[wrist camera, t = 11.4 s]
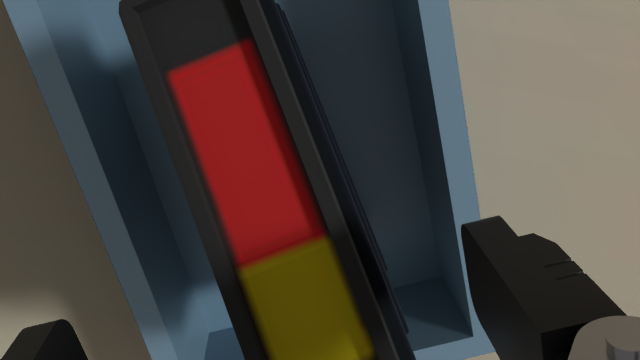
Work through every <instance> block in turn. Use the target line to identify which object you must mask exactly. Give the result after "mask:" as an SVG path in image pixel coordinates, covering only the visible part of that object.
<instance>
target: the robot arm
mask: <svg viewBox="0 0 640 360" xmlns="http://www.w3.org/2000/svg"><path fill="white" fill-rule="evenodd" d="M461 238H462V245H463V251H464V257H465V264H466V270H467V276H468V283H469V289H470V294H471V299H472V303H473V306H474V309H475V312H476V315H477V317H478V320H479V322H480V324H481V326H482V327H483V329H484V331H485V333H486V335H487V336H488V338H489V340H490V342H491V344H492V345H493V347H494V349H495V351H496V353H497V354H498V356H499V358H500V360H640V317H634V316H627V315H626V314H625V313H624V312H623V311H622V310H621V309H620V308H619V307H618V306H617V305H616V304H615V303H614V302H613V301H612V300H611V299H610V298H609V297H608V296H607V295H606V294H605V293H604V292H603V291H602V290H601V289H600V288H599V286H598V285H597V284H596V283H595V282H594V281H593V280H592V279H591V278H590V277H589V276H588V275H587V274H584V273H583V270H582V269H581V268H580V267H579V266H578V265H577V264H576V263H575V262H574V261H571V258H570V257H569V256H568V255H567V254H566V253H565V252H564V251H563V250H562V249H561V248H560V247H559V246H558V245H557V244H556V243H554V242H552V241H550V240H548V239H545V238H543V237H541V236H538V235H536V234H534V233H532V234H528V235H524V236H520V237H518V236H517V235H516V234H515V232H514V231H513V230H512V229H511V228H510V227H509V225H508V224H507V223H506V222H505V221H504V220H503V219H502V218H501V217H500V216H494V217H490V218H486V219H482V220H478V221H474V222H469V223H465V224H462V225H461ZM0 360H88V358H87V356H86V354H85V352H84V350H83V348H82V346H81V343H80V341H79V339H78V337H77V335H76V333H75V331H74V329H73V327H72V326H71V324H70V323H69V322H68V321H66V320H64V319H60V320H56V321H52V322H48V323H44V324H39V325H35V326H31V327H27V328H24V329H23V330H22V331H21V332H20V333H19V334H18V336H17V337H16V339H15V340H14V342H13V343H12V344H11V346H10V347H9V349H8V350H7V352H6V353H5V355H4V356H3V357H2V359H0Z"/></svg>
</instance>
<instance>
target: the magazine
mask: <svg viewBox="0 0 640 360" xmlns="http://www.w3.org/2000/svg"><path fill="white" fill-rule="evenodd" d="M119 16H120V19H121V22H122V24H123V27H124V30H125V33H126V35H127V38H128V41H129V44H130V46H131V49H132V52H133V54H134V57H135V60H136V63H137V65H138V68H139V71H140V74H141V76H142V79H143V82H144V85H145V87H146V90H147V93H148V96H149V98H150V101H151V104H152V107H153V109H154V112H155V115H156V117H157V120H158V123H159V126H160V128H161V131H162V134H163V137H164V139H165V142H166V145H167V148H168V150H169V153H170V156H171V159H172V161H173V164H174V167H175V169H176V172H177V175H178V178H179V180H180V183H181V186H182V189H183V191H184V194H185V197H186V200H187V202H188V205H189V208H190V211H191V213H192V216H193V219H194V222H195V224H196V227H197V230H198V232H199V235H200V238H201V241H202V243H203V246H204V249H205V252H206V254H207V257H208V260H209V263H210V265H211V268H212V271H213V274H214V276H215V279H216V282H217V285H218V287H219V290H220V293H221V295H222V298H223V301H224V304H225V306H226V309H227V312H228V315H229V317H230V320H231V323H232V326H233V328H234V331H235V334H236V337H237V339H238V342H239V345H240V347H241V350H242V353H243V356H244V358H245V360H416V357H415V355H414V352H413V350H412V347H411V345H410V342H409V340H408V337H407V335H406V334H408V333H409V329H408V326H407V323H406V320H405V318H404V315H403V313H402V310H401V308H400V305H399V303H398V300H397V298H396V295H395V293H394V290H393V288H392V285H391V283H390V280H389V278H388V275H387V273H386V271H387V270H388V268H387V265H386V263H385V260H384V257H383V255H382V252H381V250H380V247H379V245H378V242H377V240H376V237H375V235H374V232H373V230H372V227H371V225H370V223H369V220H368V218H367V215H366V213H365V210H364V208H363V205H362V203H361V200H360V198H359V195H358V193H357V190H356V188H355V185H354V183H353V180H352V178H351V175H350V173H349V170H348V168H347V165H346V163H345V161H344V158H343V156H342V153H341V151H340V148H339V146H338V143H337V141H336V138H335V136H334V133H333V131H332V128H331V126H330V123H329V121H328V118H327V116H326V113H325V111H324V108H323V106H322V103H321V101H320V99H319V96H318V94H317V91H316V89H315V86H314V84H313V81H312V79H311V76H310V74H309V71H308V69H307V66H306V64H305V61H304V59H303V56H302V54H301V51H300V49H299V46H298V44H297V41H296V39H295V36H294V34H293V32H292V29H291V27H290V24H289V22H288V19H287V17H286V14H285V12H284V10H282V9H281V7H280V5H279V4H278V3H275V0H121V1H120V2H119Z"/></svg>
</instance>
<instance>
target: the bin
mask: <svg viewBox="0 0 640 360" xmlns="http://www.w3.org/2000/svg"><path fill="white" fill-rule="evenodd" d="M120 1H121V0H3V2H4V5H5V7H6V10H7V12H8V14H9V17H10V19H11V22H12V24H13V26H14V29H15V31H16V34H17V36H18V38H19V41H20V43H21V46H22V48H23V50H24V53H25V55H26V58H27V60H28V62H29V65H30V67H31V70H32V72H33V75H34V77H35V79H36V82H37V84H38V87H39V89H40V91H41V94H42V96H43V99H44V101H45V103H46V106H47V108H48V111H49V113H50V115H51V118H52V120H53V123H54V125H55V127H56V130H57V132H58V135H59V137H60V139H61V142H62V144H63V147H64V149H65V151H66V154H67V156H68V159H69V161H70V163H71V166H72V168H73V171H74V173H75V176H76V178H77V180H78V183H79V185H80V188H81V190H82V192H83V195H84V197H85V200H86V202H87V204H88V207H89V209H90V212H91V214H92V216H93V219H94V221H95V224H96V226H97V228H98V231H99V233H100V236H101V238H102V240H103V243H104V245H105V248H106V250H107V252H108V255H109V257H110V260H111V262H112V265H113V267H114V269H115V272H116V274H117V277H118V279H119V281H120V284H121V286H122V289H123V291H124V293H125V296H126V298H127V301H128V303H129V305H130V308H131V310H132V313H133V315H134V317H135V320H136V322H137V325H138V327H139V329H140V332H141V334H142V337H143V339H144V341H145V344H146V346H147V349H148V351H149V353H150V356H151V358H152V360H245V358H244V356H243V353H242V350H241V347H240V345H239V342H238V339H237V337H236V334H235V331H234V328H233V326H232V323H231V320H230V317H229V315H228V312H227V309H226V306H225V304H224V301H223V298H222V295H221V293H220V290H219V287H218V285H217V282H216V279H215V276H214V274H213V271H212V268H211V265H210V263H209V260H208V257H207V254H206V252H205V249H204V246H203V243H202V241H201V238H200V235H199V232H198V230H197V227H196V224H195V222H194V219H193V216H192V213H191V211H190V208H189V205H188V202H187V200H186V197H185V194H184V191H183V189H182V186H181V183H180V180H179V178H178V175H177V172H176V169H175V167H174V164H173V161H172V159H171V156H170V153H169V150H168V148H167V145H166V142H165V139H164V137H163V134H162V131H161V128H160V126H159V123H158V120H157V117H156V115H155V112H154V109H153V107H152V104H151V101H150V98H149V96H148V93H147V90H146V87H145V85H144V82H143V79H142V76H141V74H140V71H139V68H138V65H137V63H136V60H135V57H134V54H133V52H132V49H131V46H130V44H129V41H128V38H127V35H126V33H125V30H124V27H123V24H122V22H121V19H120V16H119V2H120ZM275 3H278V4H279V5H280V7H281V9H282V10H284V12H285V14H286V17H287V19H288V22H289V24H290V27H291V29H292V32H293V34H294V36H295V39H296V41H297V44H298V46H299V49H300V51H301V54H302V56H303V59H304V61H305V64H306V66H307V69H308V71H309V74H310V76H311V79H312V81H313V84H314V86H315V89H316V91H317V94H318V96H319V99H320V101H321V103H322V106H323V108H324V111H325V113H326V116H327V118H328V121H329V123H330V126H331V128H332V131H333V133H334V136H335V138H336V141H337V143H338V146H339V148H340V151H341V153H342V156H343V158H344V161H345V163H346V165H347V168H348V170H349V173H350V175H351V178H352V180H353V183H354V185H355V188H356V190H357V193H358V195H359V198H360V200H361V203H362V205H363V208H364V210H365V213H366V215H367V218H368V220H369V223H370V225H371V227H372V230H373V232H374V235H375V237H376V240H377V242H378V245H379V247H380V250H381V252H382V255H383V257H384V260H385V263H386V265H387V268H388V270H387V271H386V273H387V275H388V278H389V280H390V283H391V285H392V288H393V290H394V293H395V295H396V298H397V300H398V303H399V305H400V308H401V310H402V313H403V315H404V318H405V320H406V323H407V326H408V329H409V333H408V334H406V335H407V337H408V340H409V342H410V345H411V347H412V350H413V352H414V355H415V357H416V360H462V359H466V358H471V357H475V356H479V355H483V354H487V353H492V352H496V351H495V349H494V347H493V345H492V344H491V342H490V340H489V338H488V336H487V335H486V333H485V331H484V329H483V327H482V326H481V324H480V322H479V320H478V317H477V315H476V312H475V309H474V306H473V303H472V299H471V294H470V289H469V283H468V276H467V270H466V264H465V257H464V251H463V245H462V238H461V225H462V224H465V223H469V222H474V221H478V220H481V219H480V212H479V205H478V198H477V192H476V185H475V178H474V171H473V164H472V158H471V151H470V144H469V137H468V130H467V124H466V117H465V110H464V103H463V96H462V90H461V83H460V76H459V69H458V62H457V56H456V49H455V42H454V35H453V28H452V22H451V15H450V8H449V1H448V0H275Z"/></svg>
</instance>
